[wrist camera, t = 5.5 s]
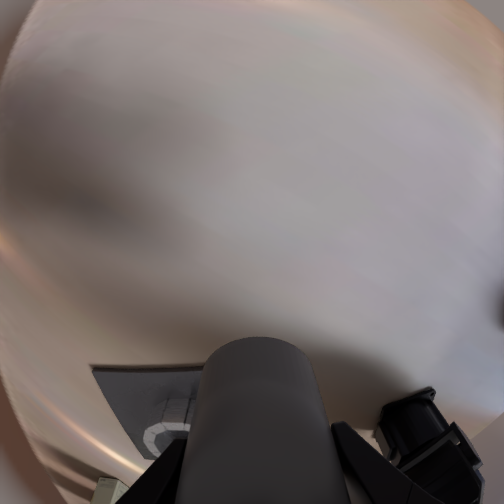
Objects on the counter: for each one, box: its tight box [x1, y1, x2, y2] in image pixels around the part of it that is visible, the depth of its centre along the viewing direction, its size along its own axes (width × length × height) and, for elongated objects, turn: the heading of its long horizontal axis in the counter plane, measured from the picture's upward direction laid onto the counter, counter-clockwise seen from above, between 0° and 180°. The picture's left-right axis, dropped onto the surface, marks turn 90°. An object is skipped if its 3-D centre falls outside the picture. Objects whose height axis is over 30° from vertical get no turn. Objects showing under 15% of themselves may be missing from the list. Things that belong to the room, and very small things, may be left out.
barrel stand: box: [92, 366, 204, 460], centre depth 21 cm, size 16×14×4 cm
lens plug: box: [175, 337, 351, 504], centre depth 6 cm, size 5×5×8 cm
